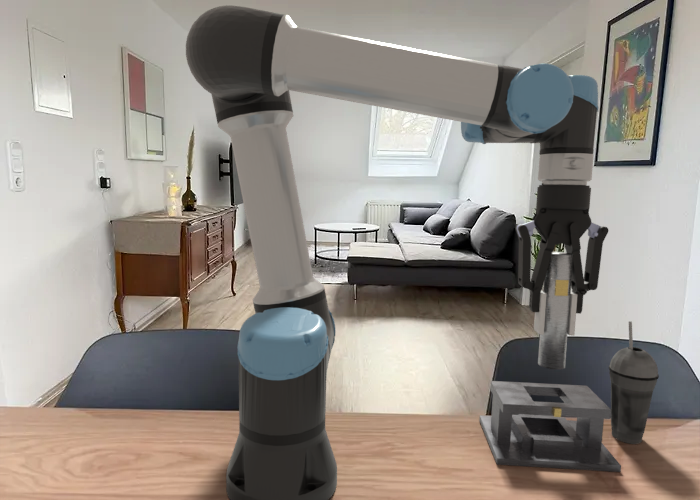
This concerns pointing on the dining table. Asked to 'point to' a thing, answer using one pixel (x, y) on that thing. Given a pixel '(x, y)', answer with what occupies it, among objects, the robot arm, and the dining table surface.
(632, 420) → the beverage cup
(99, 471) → the dining table surface
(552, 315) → the silver metal cylinder
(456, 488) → the dining table surface
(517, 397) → the grey holder stand
